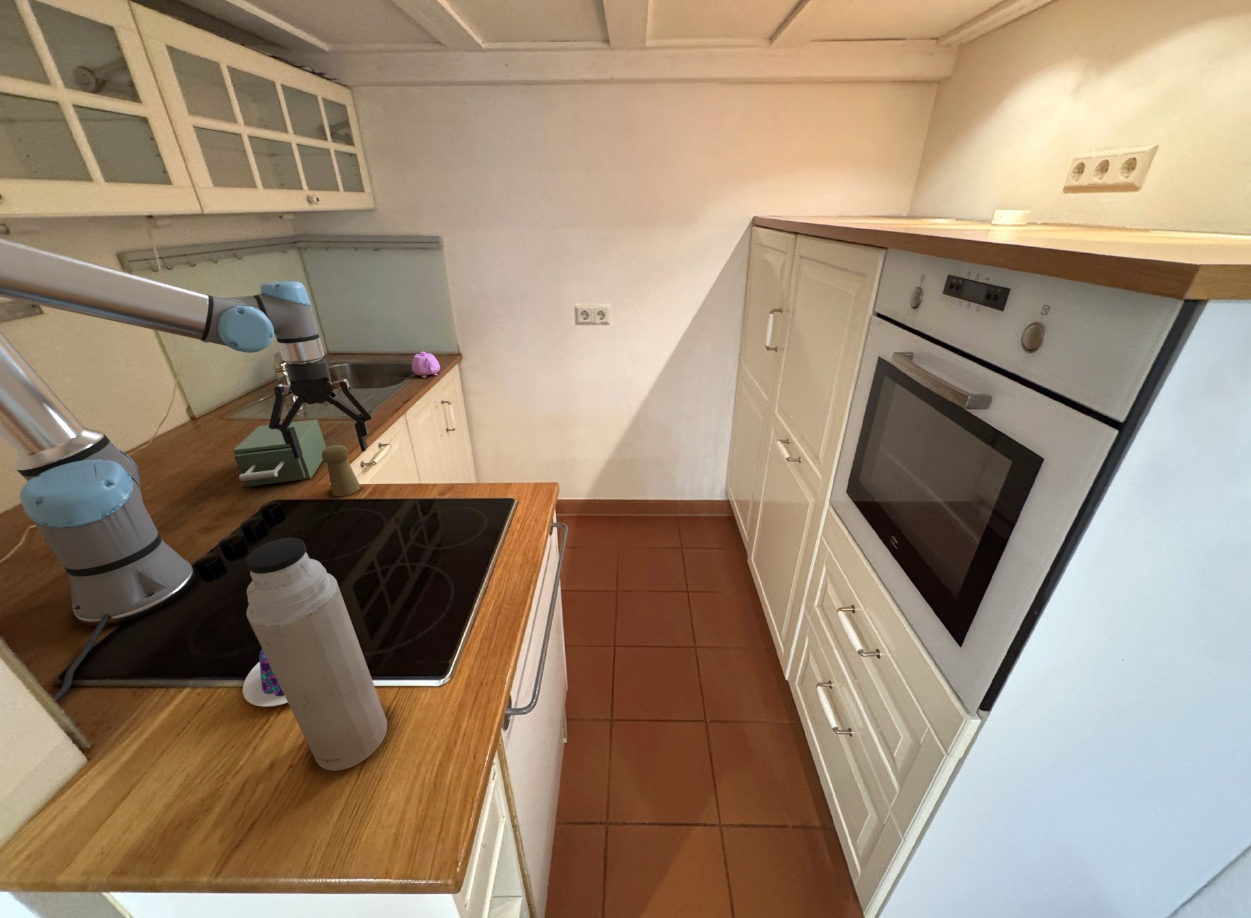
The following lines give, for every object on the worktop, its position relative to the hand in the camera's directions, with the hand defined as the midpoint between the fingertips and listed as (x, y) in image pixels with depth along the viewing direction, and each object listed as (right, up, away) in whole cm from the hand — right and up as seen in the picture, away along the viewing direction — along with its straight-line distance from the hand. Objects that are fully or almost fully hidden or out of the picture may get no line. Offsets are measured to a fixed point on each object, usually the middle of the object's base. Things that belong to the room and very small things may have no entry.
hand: (332, 452), depth 113 cm
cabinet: (-20, -4, +16) cm, 26 cm away
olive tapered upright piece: (+1, -9, +5) cm, 10 cm away
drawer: (-19, -5, +10) cm, 22 cm away
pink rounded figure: (-15, +33, +92) cm, 99 cm away
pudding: (+20, -32, -43) cm, 57 cm away
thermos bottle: (+33, -36, -52) cm, 71 cm away
